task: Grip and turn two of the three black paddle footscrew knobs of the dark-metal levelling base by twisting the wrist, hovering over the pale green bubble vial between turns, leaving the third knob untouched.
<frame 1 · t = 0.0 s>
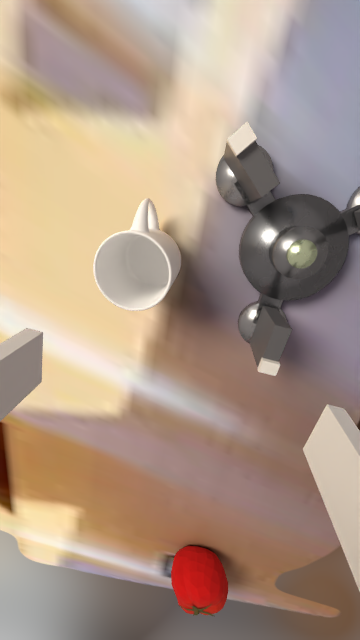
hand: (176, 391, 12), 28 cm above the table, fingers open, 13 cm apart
tomato: (199, 552, 61), on the table
mug: (154, 247, 38), on the table
knob a: (268, 337, 34), point 6 cm above the table, hinge at 0.0°
tribrach: (288, 249, 36), on the table
knob c: (249, 168, 28), point 6 cm above the table, hinge at 0.0°
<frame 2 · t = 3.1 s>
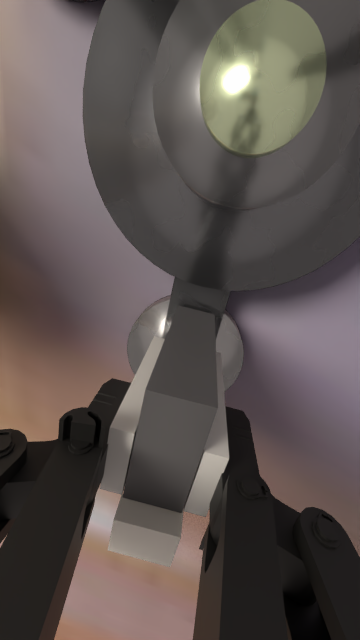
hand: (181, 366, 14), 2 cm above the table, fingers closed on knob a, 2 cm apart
knob a: (174, 404, 11), point 6 cm above the table, hinge at 0.0°, touching gripper
tribrach: (238, 144, 12), on the table
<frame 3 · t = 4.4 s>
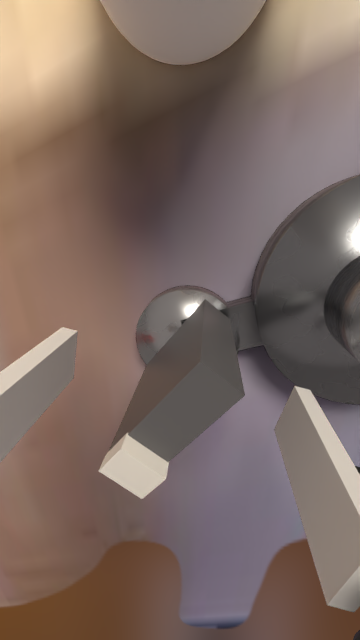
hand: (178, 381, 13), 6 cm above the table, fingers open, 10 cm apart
knob a: (179, 378, 13), point 6 cm above the table, hinge at 34.0°
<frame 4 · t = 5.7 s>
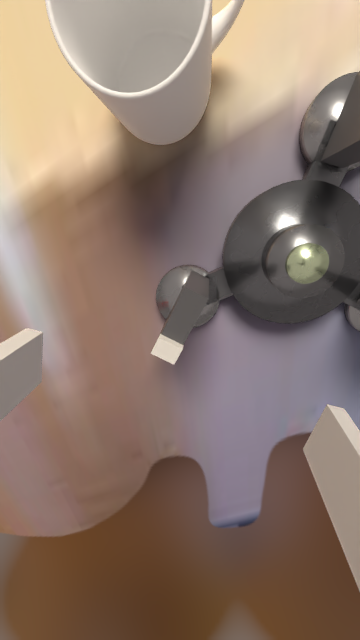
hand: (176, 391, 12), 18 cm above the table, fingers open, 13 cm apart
mug: (179, 78, 23), on the table
knob a: (183, 311, 24), point 6 cm above the table, hinge at 39.6°
tribrach: (287, 255, 27), on the table
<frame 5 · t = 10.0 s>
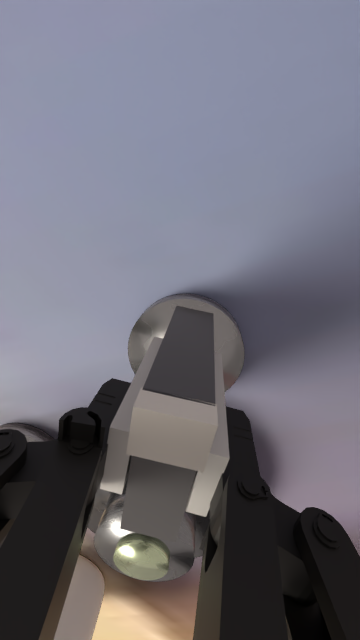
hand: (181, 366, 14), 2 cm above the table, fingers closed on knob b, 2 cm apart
mug: (55, 561, 27), on the table
knob b: (175, 404, 11), point 6 cm above the table, hinge at -0.2°, touching gripper
tribrach: (159, 470, 21), on the table
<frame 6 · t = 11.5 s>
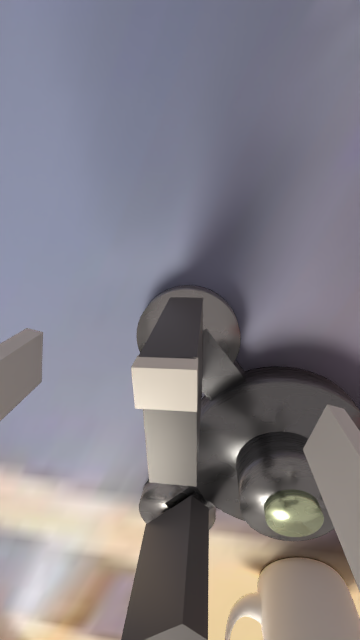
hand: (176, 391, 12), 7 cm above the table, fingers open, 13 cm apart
mug: (281, 576, 27), on the table
knob b: (180, 377, 13), point 6 cm above the table, hinge at -36.1°
tribrach: (272, 438, 21), on the table
knob c: (169, 575, 19), point 6 cm above the table, hinge at 0.0°
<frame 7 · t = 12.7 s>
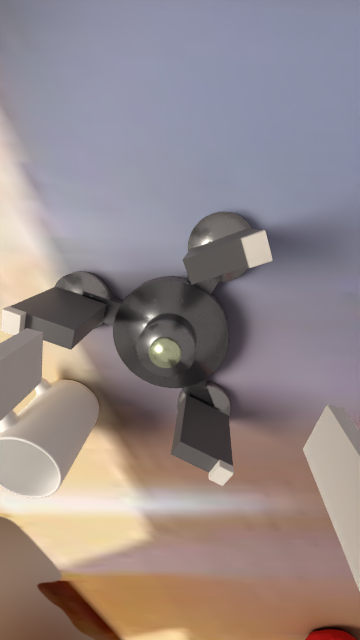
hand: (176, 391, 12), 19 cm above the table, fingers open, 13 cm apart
tomato: (330, 633, 51), on the table
mug: (66, 392, 37), on the table
knob a: (202, 435, 30), point 6 cm above the table, hinge at 40.9°
knob b: (223, 253, 22), point 6 cm above the table, hinge at -41.5°
tribrach: (172, 330, 32), on the table
knob c: (60, 315, 26), point 6 cm above the table, hinge at 0.0°
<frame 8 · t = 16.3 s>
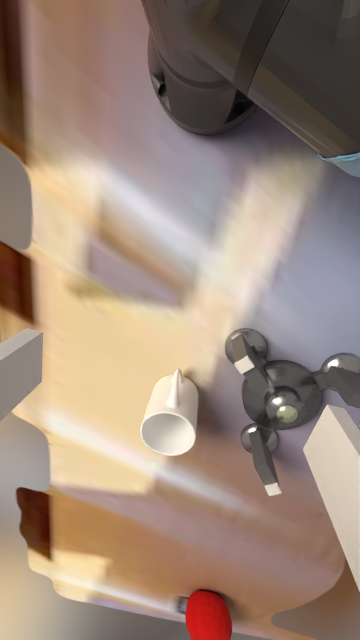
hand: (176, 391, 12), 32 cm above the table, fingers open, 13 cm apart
tomato: (207, 595, 73), on the table
mug: (177, 384, 50), on the table
knob a: (263, 460, 47), point 6 cm above the table, hinge at 40.9°
knob b: (358, 390, 40), point 6 cm above the table, hinge at -42.9°
tribrach: (278, 391, 48), on the table
knob c: (249, 362, 40), point 6 cm above the table, hinge at 0.0°
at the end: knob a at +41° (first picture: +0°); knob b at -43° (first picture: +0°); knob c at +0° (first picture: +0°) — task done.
